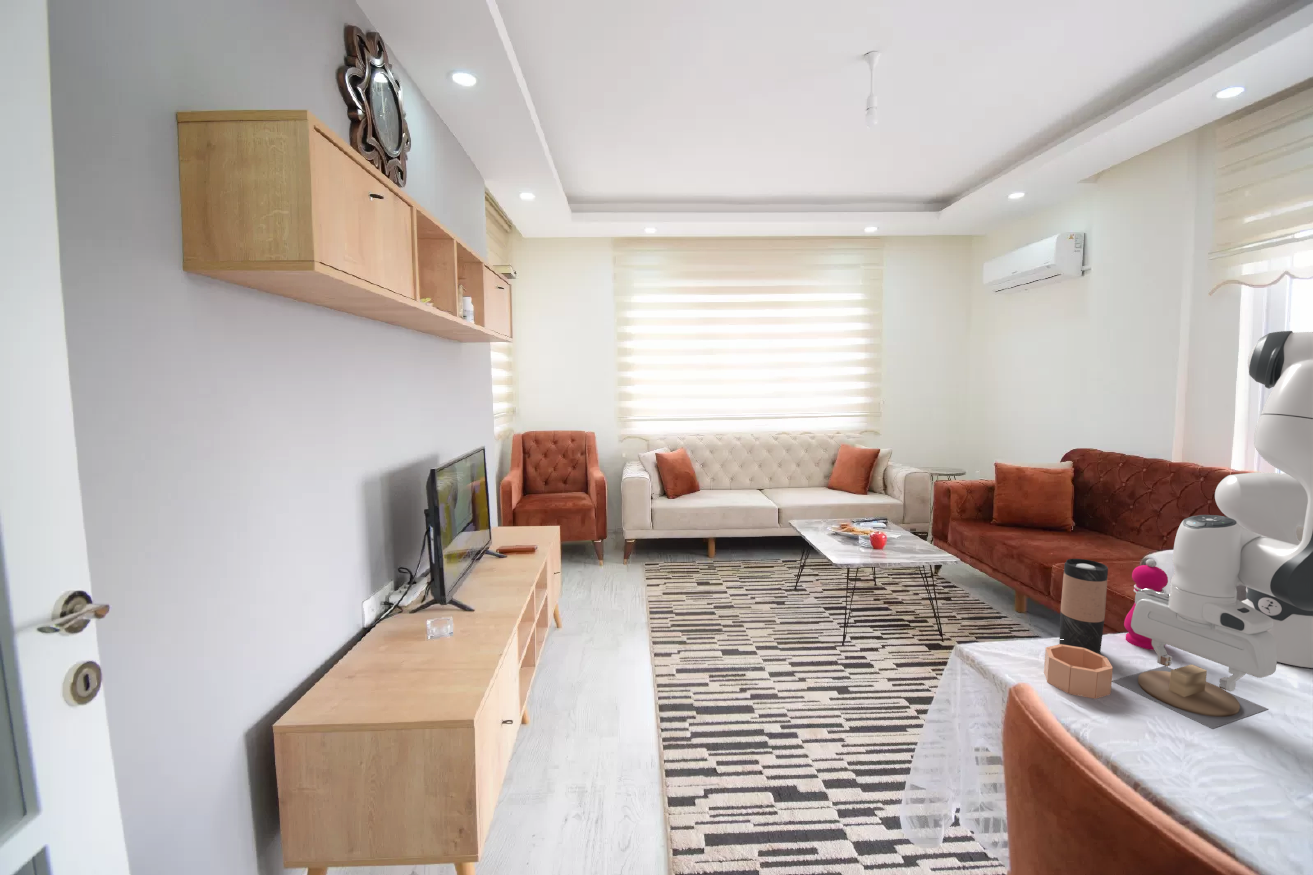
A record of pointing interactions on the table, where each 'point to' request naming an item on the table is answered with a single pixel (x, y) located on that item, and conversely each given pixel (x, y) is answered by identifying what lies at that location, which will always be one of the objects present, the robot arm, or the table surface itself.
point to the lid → (1189, 691)
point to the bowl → (1078, 671)
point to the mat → (1212, 722)
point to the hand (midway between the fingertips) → (1194, 676)
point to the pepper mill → (1144, 579)
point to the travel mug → (1083, 604)
